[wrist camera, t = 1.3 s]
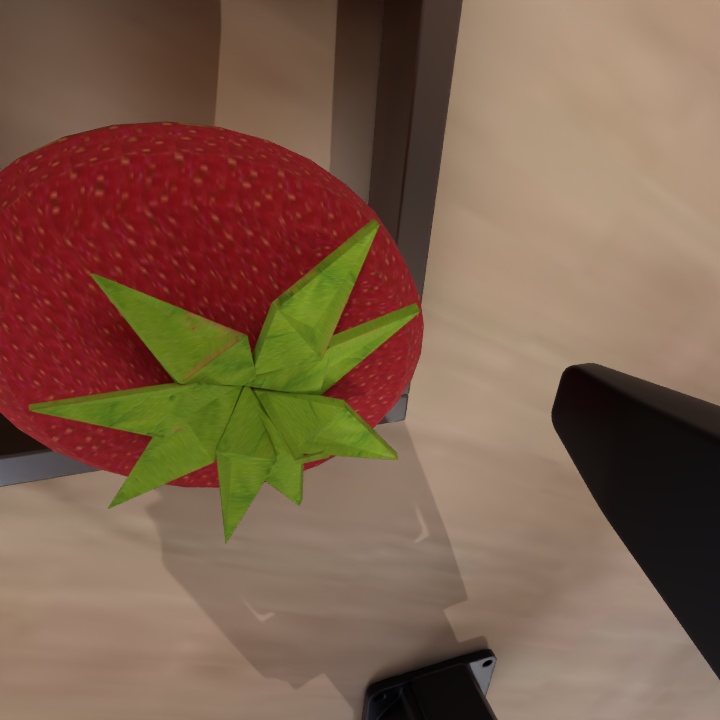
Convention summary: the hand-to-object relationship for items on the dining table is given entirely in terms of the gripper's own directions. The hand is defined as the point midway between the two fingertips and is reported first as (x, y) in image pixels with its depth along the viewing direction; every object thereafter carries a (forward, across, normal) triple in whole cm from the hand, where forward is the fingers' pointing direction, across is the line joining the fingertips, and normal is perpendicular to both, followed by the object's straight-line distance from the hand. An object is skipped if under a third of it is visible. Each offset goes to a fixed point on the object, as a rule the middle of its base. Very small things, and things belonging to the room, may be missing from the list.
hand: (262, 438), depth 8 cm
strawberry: (+9, 0, 0) cm, 9 cm away
